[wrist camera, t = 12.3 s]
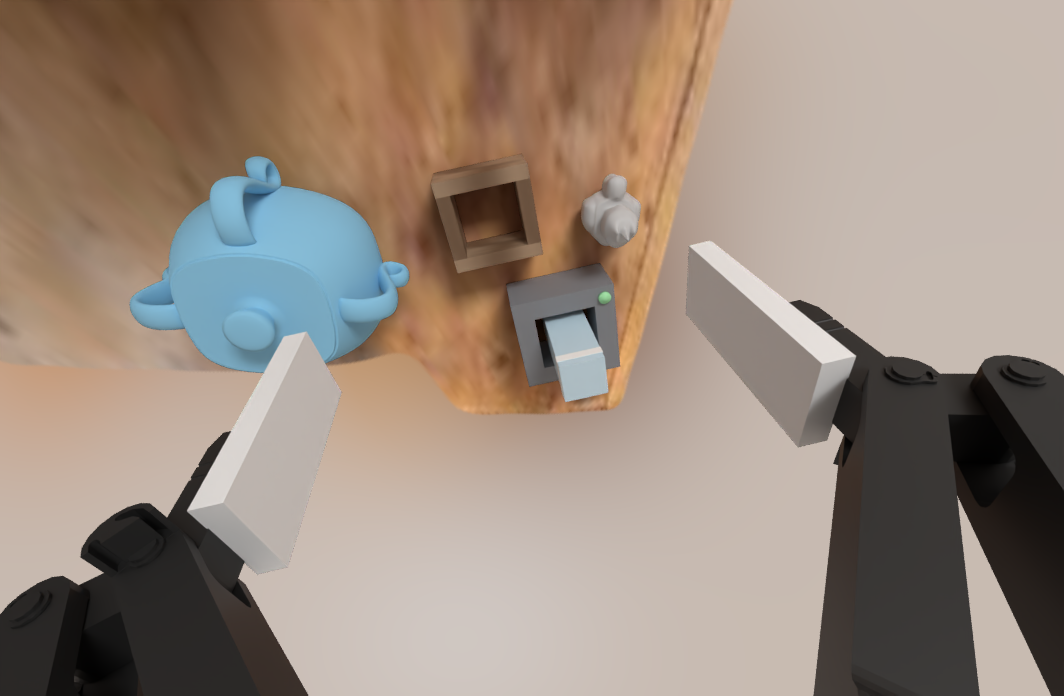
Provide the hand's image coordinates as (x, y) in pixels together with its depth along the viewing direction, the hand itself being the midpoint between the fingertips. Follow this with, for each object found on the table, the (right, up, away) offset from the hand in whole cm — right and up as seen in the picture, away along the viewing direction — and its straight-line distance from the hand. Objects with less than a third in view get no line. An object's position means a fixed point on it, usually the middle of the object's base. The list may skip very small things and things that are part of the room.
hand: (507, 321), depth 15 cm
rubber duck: (+8, +13, +27) cm, 31 cm away
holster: (-3, +12, +26) cm, 29 cm away
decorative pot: (-21, +8, +27) cm, 34 cm away
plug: (+4, +3, +33) cm, 34 cm away
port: (+4, +3, +33) cm, 34 cm away
